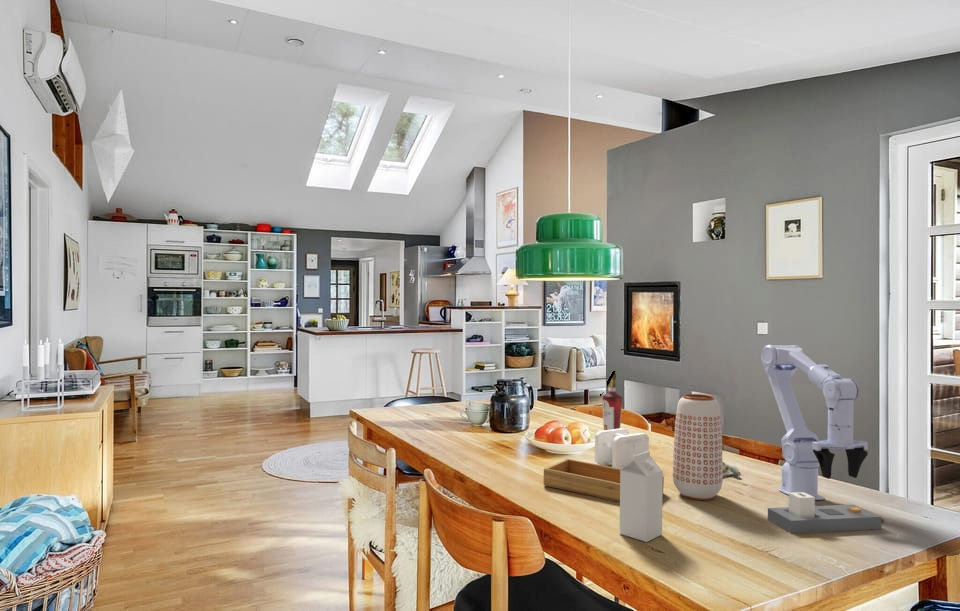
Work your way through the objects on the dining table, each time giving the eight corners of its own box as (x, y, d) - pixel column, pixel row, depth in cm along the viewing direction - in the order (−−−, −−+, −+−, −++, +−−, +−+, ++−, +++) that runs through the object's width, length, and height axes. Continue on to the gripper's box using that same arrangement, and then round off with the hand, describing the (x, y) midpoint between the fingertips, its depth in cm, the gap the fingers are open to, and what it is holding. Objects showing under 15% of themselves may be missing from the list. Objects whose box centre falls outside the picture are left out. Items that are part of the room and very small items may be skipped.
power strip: (791, 533, 144) (791, 518, 144) (767, 519, 153) (767, 505, 153) (897, 528, 148) (898, 513, 148) (868, 515, 157) (869, 501, 157)
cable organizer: (626, 460, 209) (627, 427, 209) (650, 468, 200) (650, 433, 200) (594, 466, 202) (594, 431, 202) (616, 474, 193) (617, 437, 192)
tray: (663, 494, 173) (663, 475, 173) (644, 509, 161) (645, 487, 161) (566, 476, 191) (566, 458, 191) (543, 488, 179) (543, 468, 179)
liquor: (597, 445, 231) (598, 372, 231) (612, 443, 235) (613, 371, 235) (610, 449, 225) (611, 374, 225) (625, 447, 228) (626, 373, 228)
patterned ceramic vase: (699, 486, 180) (700, 391, 180) (733, 500, 168) (734, 398, 168) (662, 490, 176) (663, 393, 175) (694, 505, 163) (695, 400, 163)
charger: (788, 520, 151) (789, 492, 151) (803, 520, 151) (803, 491, 151) (799, 526, 147) (799, 497, 147) (814, 526, 147) (814, 497, 147)
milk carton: (619, 534, 142) (620, 453, 142) (635, 526, 147) (636, 448, 147) (646, 543, 137) (647, 459, 137) (662, 534, 142) (663, 453, 142)
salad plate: (756, 476, 193) (757, 462, 192) (715, 483, 185) (715, 468, 185) (709, 462, 210) (709, 448, 210) (670, 467, 202) (670, 454, 202)
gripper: (826, 428, 153) (825, 482, 153) (877, 427, 155) (876, 480, 155) (807, 423, 160) (806, 474, 160) (856, 422, 162) (855, 473, 162)
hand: (839, 477), depth 158 cm, fingers open, 7 cm apart
